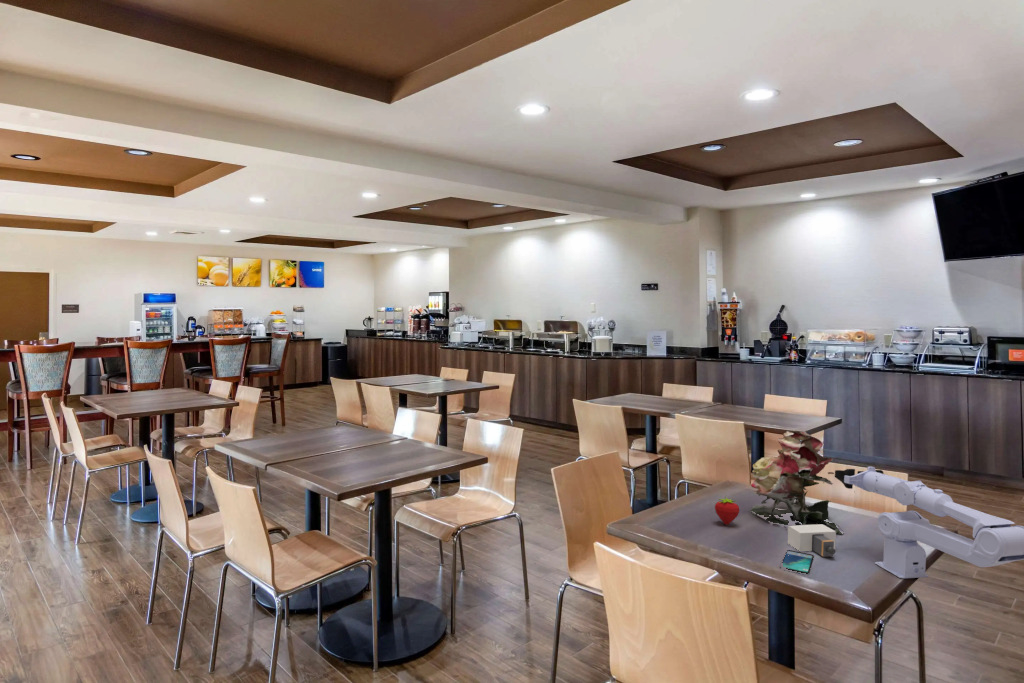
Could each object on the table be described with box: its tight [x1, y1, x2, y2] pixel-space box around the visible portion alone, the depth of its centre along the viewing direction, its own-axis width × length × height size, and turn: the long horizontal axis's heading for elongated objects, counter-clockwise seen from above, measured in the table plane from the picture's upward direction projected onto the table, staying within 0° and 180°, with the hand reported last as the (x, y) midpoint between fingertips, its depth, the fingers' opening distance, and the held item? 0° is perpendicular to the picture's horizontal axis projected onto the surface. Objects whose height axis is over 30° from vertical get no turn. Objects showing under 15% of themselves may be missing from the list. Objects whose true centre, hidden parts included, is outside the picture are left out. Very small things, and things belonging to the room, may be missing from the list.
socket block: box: [787, 523, 837, 552], centre depth 177 cm, size 6×11×6 cm, turn 97°
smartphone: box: [781, 549, 815, 574], centre depth 167 cm, size 7×1×15 cm
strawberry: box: [714, 496, 740, 526], centre depth 195 cm, size 6×8×10 cm
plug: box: [812, 534, 836, 558], centre depth 172 cm, size 9×3×4 cm, turn 7°
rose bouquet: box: [749, 429, 855, 535], centre depth 200 cm, size 26×29×30 cm
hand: (847, 474), depth 181 cm, fingers open, 7 cm apart
